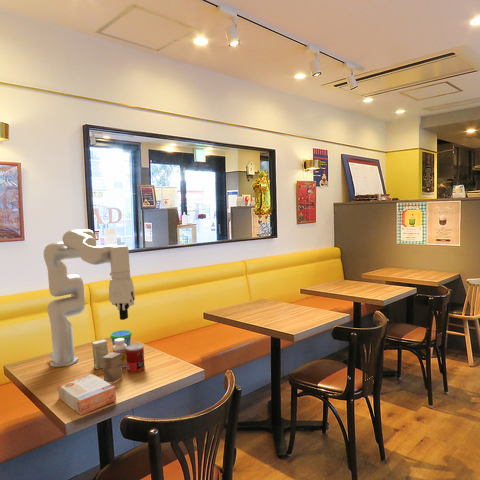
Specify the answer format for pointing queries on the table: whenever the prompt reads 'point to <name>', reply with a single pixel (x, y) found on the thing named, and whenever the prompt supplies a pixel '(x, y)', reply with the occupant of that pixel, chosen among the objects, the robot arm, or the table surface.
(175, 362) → the table surface
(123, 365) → the supplement bottle
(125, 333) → the snack cup
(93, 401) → the cracker box
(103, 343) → the skincare box
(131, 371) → the canned food
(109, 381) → the walnut block
